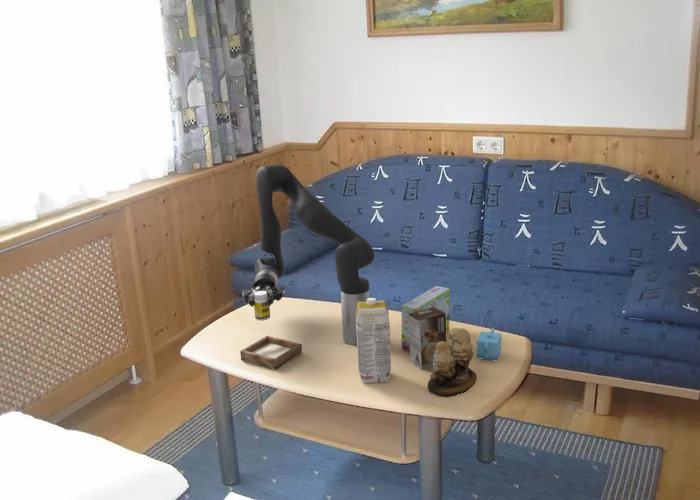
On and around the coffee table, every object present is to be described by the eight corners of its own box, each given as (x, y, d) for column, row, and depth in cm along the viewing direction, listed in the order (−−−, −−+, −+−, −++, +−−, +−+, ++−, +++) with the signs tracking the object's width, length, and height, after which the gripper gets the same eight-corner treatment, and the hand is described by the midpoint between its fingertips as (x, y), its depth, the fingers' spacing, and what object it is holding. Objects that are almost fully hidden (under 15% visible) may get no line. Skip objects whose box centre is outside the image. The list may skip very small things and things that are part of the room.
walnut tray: (302, 352, 228) (301, 344, 227) (276, 369, 218) (275, 360, 217) (267, 344, 235) (267, 335, 234) (241, 359, 225) (240, 351, 224)
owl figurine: (451, 366, 215) (451, 312, 210) (487, 376, 208) (488, 321, 202) (417, 390, 201) (417, 334, 196) (454, 402, 194) (455, 344, 189)
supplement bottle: (264, 322, 223) (261, 296, 220) (252, 319, 225) (249, 294, 223) (273, 316, 227) (271, 291, 224) (261, 314, 229) (259, 289, 227)
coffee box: (435, 354, 222) (434, 306, 217) (447, 362, 216) (446, 313, 212) (409, 362, 218) (408, 312, 213) (421, 370, 212) (420, 319, 208)
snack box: (416, 354, 223) (415, 309, 218) (401, 350, 226) (399, 305, 222) (450, 330, 239) (450, 287, 234) (436, 326, 242) (435, 284, 238)
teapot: (483, 346, 226) (483, 323, 224) (502, 348, 224) (503, 325, 222) (475, 362, 216) (475, 339, 213) (496, 365, 213) (496, 341, 211)
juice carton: (390, 370, 213) (387, 294, 206) (392, 383, 206) (389, 305, 198) (358, 372, 213) (354, 296, 206) (359, 385, 206) (355, 306, 198)
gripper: (242, 274, 237) (235, 293, 220) (286, 272, 237) (282, 290, 221) (244, 295, 239) (238, 316, 223) (288, 293, 239) (284, 313, 223)
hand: (260, 303), depth 222 cm, fingers closed on supplement bottle, 4 cm apart
